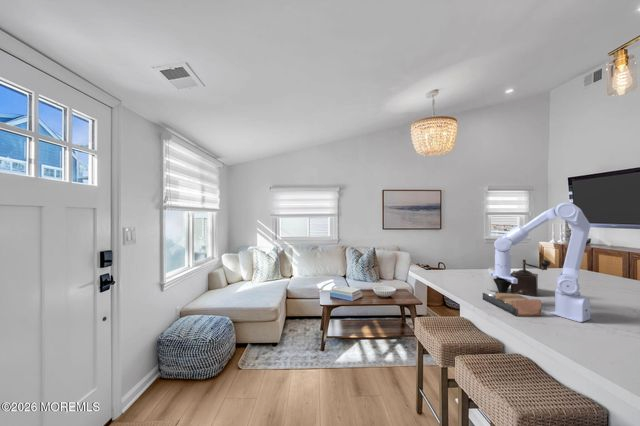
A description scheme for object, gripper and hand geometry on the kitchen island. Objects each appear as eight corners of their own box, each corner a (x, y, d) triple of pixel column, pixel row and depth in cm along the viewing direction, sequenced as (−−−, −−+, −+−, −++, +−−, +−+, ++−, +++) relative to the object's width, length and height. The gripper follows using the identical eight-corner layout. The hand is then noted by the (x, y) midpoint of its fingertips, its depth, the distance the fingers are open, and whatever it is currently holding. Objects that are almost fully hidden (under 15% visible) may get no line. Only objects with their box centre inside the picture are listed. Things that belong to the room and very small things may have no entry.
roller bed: (482, 299, 122) (482, 286, 122) (503, 298, 122) (503, 286, 122) (516, 316, 102) (516, 300, 102) (541, 315, 102) (541, 300, 102)
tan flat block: (495, 297, 115) (495, 293, 115) (513, 297, 115) (513, 292, 115) (513, 305, 105) (513, 300, 105) (532, 305, 105) (532, 300, 105)
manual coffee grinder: (509, 292, 132) (509, 256, 132) (513, 288, 140) (512, 254, 140) (550, 299, 121) (550, 260, 121) (551, 294, 129) (551, 257, 129)
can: (504, 294, 130) (504, 269, 130) (486, 291, 134) (486, 267, 134) (505, 290, 136) (505, 267, 135) (487, 288, 140) (487, 265, 140)
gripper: (483, 261, 123) (483, 290, 123) (505, 268, 109) (506, 301, 109) (497, 261, 123) (497, 290, 123) (522, 268, 109) (522, 301, 109)
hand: (502, 295), depth 116 cm, fingers closed
